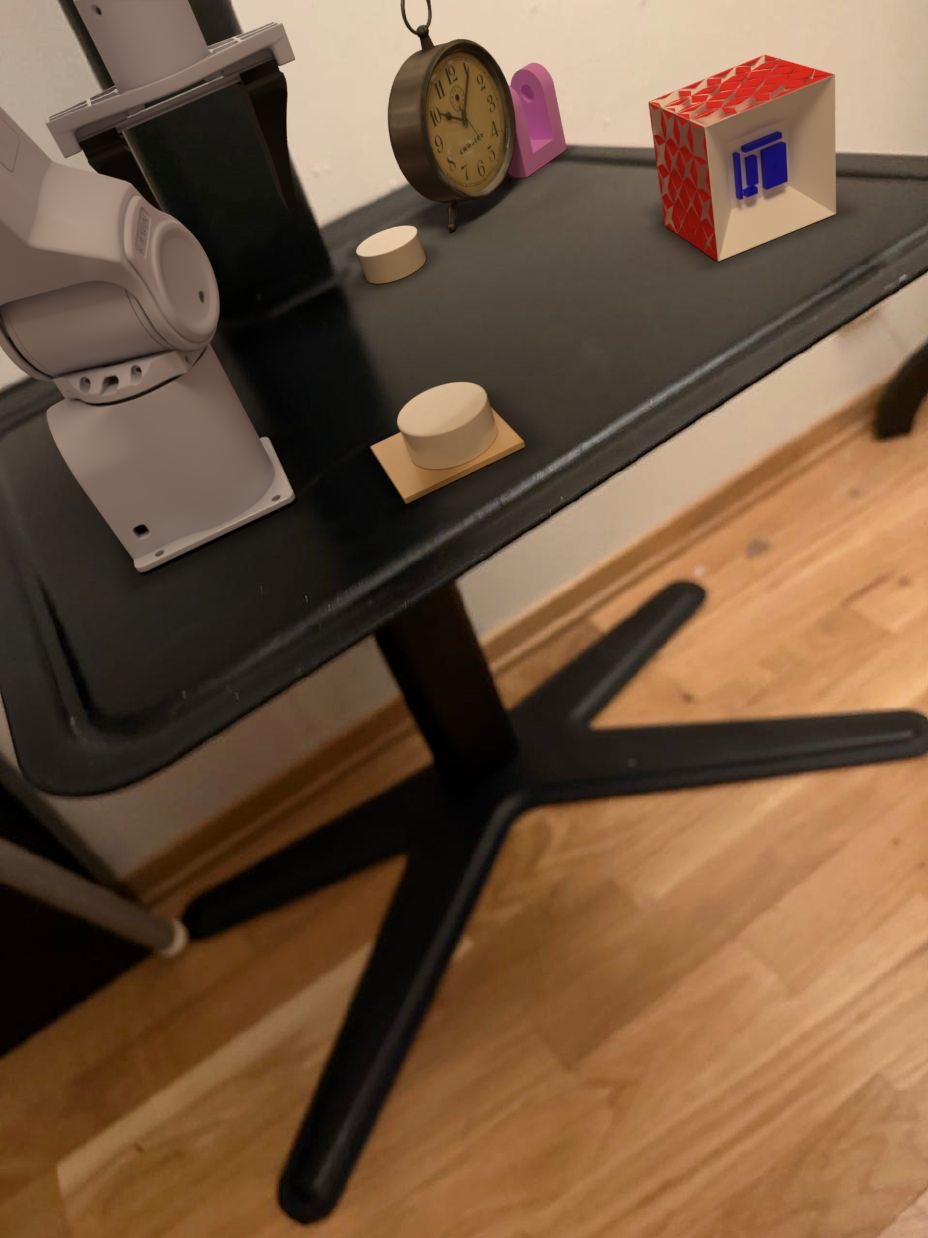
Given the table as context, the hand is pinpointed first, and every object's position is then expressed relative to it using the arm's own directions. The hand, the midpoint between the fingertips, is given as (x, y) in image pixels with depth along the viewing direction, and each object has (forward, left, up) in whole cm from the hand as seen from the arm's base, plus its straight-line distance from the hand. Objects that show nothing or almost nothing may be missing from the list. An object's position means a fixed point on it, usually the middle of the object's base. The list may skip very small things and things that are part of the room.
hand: (236, 228), depth 57 cm
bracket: (+25, +22, -10) cm, 34 cm away
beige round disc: (+11, +8, -9) cm, 16 cm away
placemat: (+5, -20, -9) cm, 22 cm away
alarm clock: (+19, +13, -10) cm, 25 cm away
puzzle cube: (+30, -10, -10) cm, 33 cm away
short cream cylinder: (+5, -20, -9) cm, 22 cm away
